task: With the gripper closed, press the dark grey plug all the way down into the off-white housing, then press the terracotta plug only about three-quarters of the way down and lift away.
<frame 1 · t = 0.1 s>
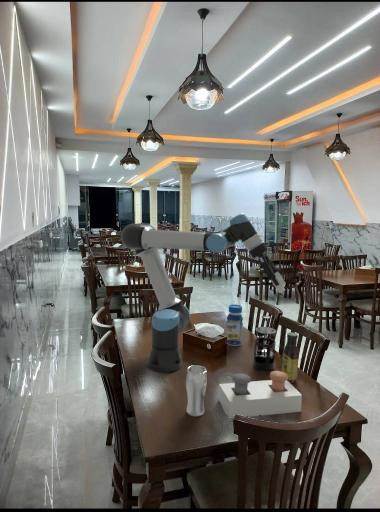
hand: (282, 288, 152), 36 cm above the table, tool tilted 35°, fingers open, 13 cm apart
grey plug: (241, 386, 124), point 8 cm above the table, slide at 0.0 cm
sauce bottle: (288, 380, 146), on the table
french press: (263, 366, 159), on the table
terracotta plug: (278, 383, 127), point 8 cm above the table, slide at 0.0 cm
beer glass: (195, 412, 122), on the table
housing: (258, 405, 126), on the table
beverage bottle: (233, 343, 185), on the table
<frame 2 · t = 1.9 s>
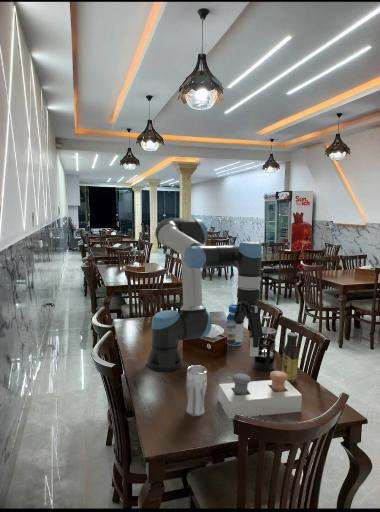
hand: (246, 348, 123), 21 cm above the table, tool pointing down, fingers open, 13 cm apart
nothing on the table moved.
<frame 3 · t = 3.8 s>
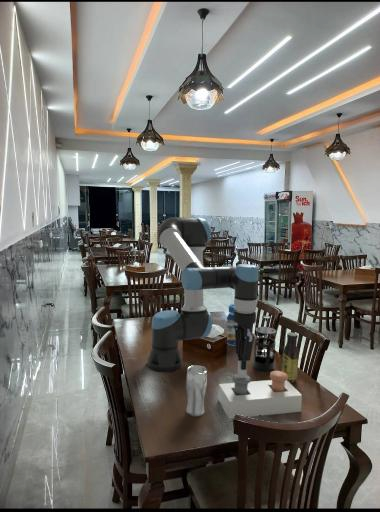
hand: (241, 377, 123), 11 cm above the table, tool pointing down, fingers closed
grey plug: (241, 386, 124), point 8 cm above the table, slide at 0.1 cm, touching gripper
everything else where it was.
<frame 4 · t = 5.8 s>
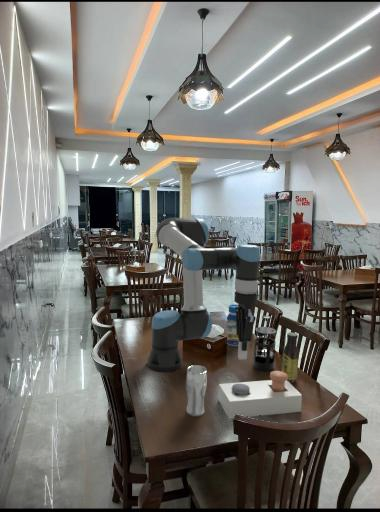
hand: (242, 358, 123), 18 cm above the table, tool pointing down, fingers closed
grey plug: (240, 396, 124), point 4 cm above the table, slide at 3.8 cm
everything else where it was.
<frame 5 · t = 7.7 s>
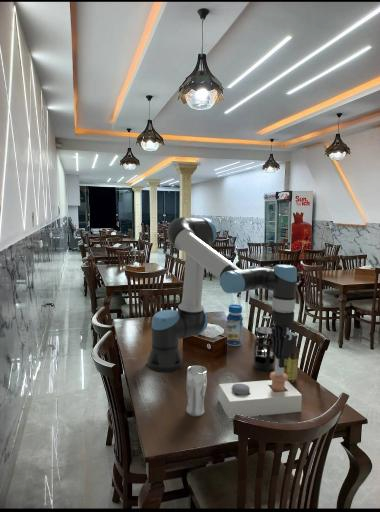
hand: (279, 374, 126), 11 cm above the table, tool pointing down, fingers closed
terracotta plug: (278, 383, 127), point 8 cm above the table, slide at 0.2 cm, touching gripper
everything else where it was.
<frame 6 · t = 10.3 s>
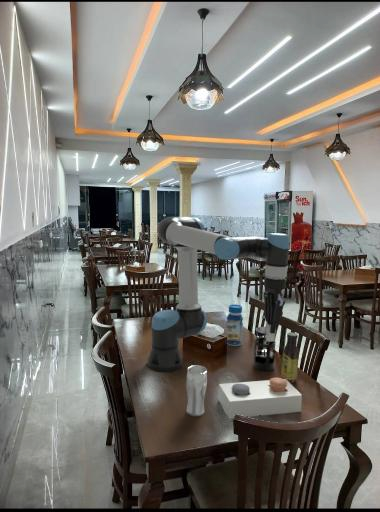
hand: (270, 340, 130), 22 cm above the table, tool pointing down, fingers closed
terracotta plug: (277, 390, 127), point 5 cm above the table, slide at 2.6 cm
everything else where it was.
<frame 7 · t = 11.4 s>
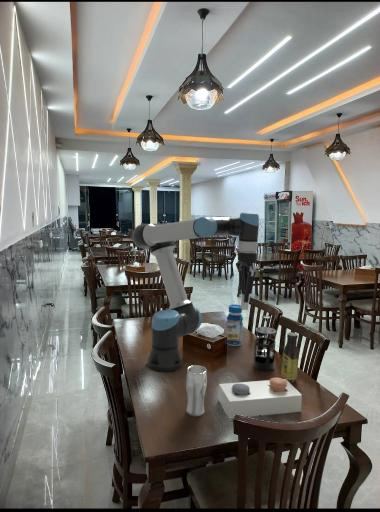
hand: (244, 309, 146), 28 cm above the table, tool pointing down, fingers closed
nothing on the table moved.
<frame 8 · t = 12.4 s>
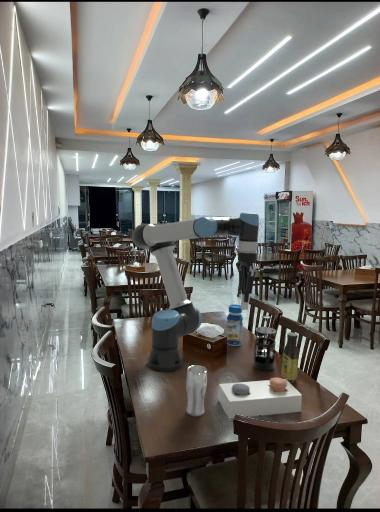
hand: (244, 309, 146), 28 cm above the table, tool pointing down, fingers closed
nothing on the table moved.
at the end: grey plug slide at 3.8 cm; terracotta plug slide at 2.6 cm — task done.
